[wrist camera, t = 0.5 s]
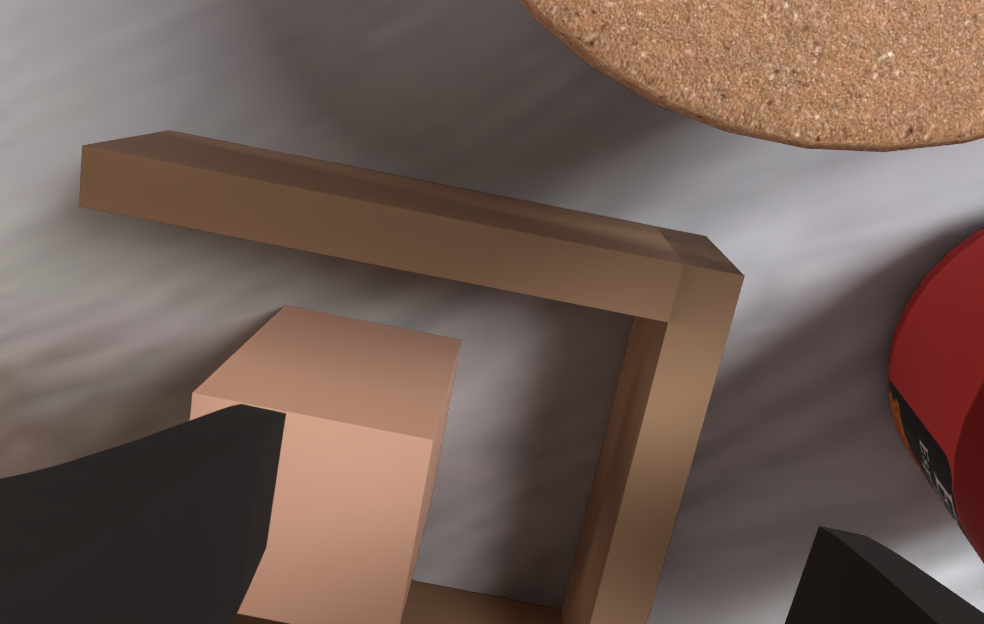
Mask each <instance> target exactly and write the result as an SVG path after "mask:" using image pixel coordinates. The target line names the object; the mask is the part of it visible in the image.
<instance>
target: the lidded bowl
mask: <svg viewBox="0 0 984 624" xmlns="http://www.w3.org/2000/svg"><path fill="white" fill-rule="evenodd" d="M519 1H520V2H521V4H522V5H523V6H524V7H525V8H526V9H527V11H528V12H529V13H530V14H531V15H532V16H533V18H534V19H535V20H537V21H538V22H539V23H540V24H541V25H543V26H544V27H545V28H546V29H547V30H549V31H550V32H551V33H552V34H553V35H554V36H556V37H557V38H558V39H559V40H560V41H562V42H563V43H564V44H565V45H566V46H568V47H569V48H570V49H571V50H572V51H574V52H575V53H576V54H577V55H578V56H580V57H581V58H582V59H583V60H584V61H586V62H587V63H588V64H589V65H590V66H592V67H593V68H595V69H597V70H598V71H600V72H602V73H603V74H605V75H607V76H608V77H610V78H612V79H614V80H615V81H617V82H619V83H620V84H622V85H624V86H625V87H627V88H629V89H630V90H632V91H634V92H636V93H637V94H639V95H641V96H642V97H644V98H646V99H647V100H649V101H651V102H652V103H654V104H656V105H659V106H661V107H664V108H666V109H669V110H672V111H674V112H677V113H679V114H682V115H685V116H687V117H690V118H692V119H695V120H697V121H700V122H703V123H705V124H708V125H710V126H713V127H716V128H718V129H721V130H723V131H726V132H730V133H734V134H739V135H744V136H749V137H754V138H758V139H763V140H768V141H773V142H778V143H783V144H787V145H792V146H797V147H802V148H807V149H830V150H853V151H876V152H887V151H896V150H906V149H915V148H924V147H933V146H942V145H951V144H960V143H966V142H970V141H974V140H977V139H981V138H984V0H519Z"/></svg>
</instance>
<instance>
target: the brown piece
mask: <svg viewBox="0 0 984 624" xmlns="http://www.w3.org/2000/svg"><path fill="white" fill-rule="evenodd" d="M79 206H80V207H85V208H90V209H95V210H100V211H105V212H110V213H115V214H120V215H125V216H130V217H135V218H141V219H146V220H151V221H156V222H161V223H166V224H171V225H176V226H181V227H186V228H191V229H196V230H201V231H207V232H212V233H217V234H222V235H227V236H232V237H237V238H242V239H247V240H252V241H257V242H262V243H268V244H273V245H278V246H283V247H288V248H293V249H298V250H303V251H308V252H313V253H318V254H323V255H329V256H334V257H339V258H344V259H349V260H354V261H359V262H364V263H369V264H374V265H379V266H384V267H390V268H395V269H400V270H405V271H410V272H415V273H420V274H425V275H430V276H435V277H440V278H445V279H450V280H456V281H461V282H466V283H471V284H476V285H481V286H486V287H491V288H496V289H501V290H506V291H511V292H517V293H522V294H527V295H532V296H537V297H542V298H547V299H552V300H557V301H562V302H567V303H572V304H578V305H583V306H588V307H593V308H598V309H603V310H608V311H613V312H618V313H623V314H628V315H633V316H634V319H633V323H632V327H631V331H630V335H629V339H628V343H627V347H626V351H625V355H624V359H623V363H622V367H621V371H620V376H619V380H618V384H617V388H616V392H615V396H614V400H613V404H612V408H611V412H610V416H609V420H608V424H607V428H606V432H605V436H604V440H603V444H602V448H601V452H600V456H599V461H598V465H597V469H596V473H595V477H594V481H593V485H592V489H591V493H590V497H589V501H588V505H587V509H586V513H585V517H584V521H583V525H582V529H581V533H580V537H579V541H578V546H577V550H576V554H575V558H574V562H573V566H572V570H571V574H570V578H569V582H568V586H567V590H566V594H565V598H564V602H563V606H562V610H559V609H554V608H549V607H544V606H539V605H534V604H529V603H524V602H519V601H514V600H508V599H503V598H498V597H493V596H488V595H483V594H478V593H473V592H468V591H463V590H458V589H452V588H447V587H442V586H437V585H432V584H427V583H422V582H417V581H412V580H411V584H410V588H409V592H408V596H407V600H406V604H405V608H404V612H403V616H402V620H401V624H647V620H648V617H649V613H650V610H651V606H652V603H653V599H654V596H655V592H656V589H657V585H658V581H659V578H660V574H661V571H662V567H663V564H664V560H665V557H666V553H667V549H668V546H669V542H670V539H671V535H672V532H673V528H674V525H675V521H676V518H677V514H678V510H679V507H680V503H681V500H682V496H683V493H684V489H685V486H686V482H687V479H688V475H689V471H690V468H691V464H692V461H693V457H694V454H695V450H696V447H697V443H698V439H699V436H700V432H701V429H702V425H703V422H704V418H705V415H706V411H707V408H708V404H709V400H710V397H711V393H712V390H713V386H714V383H715V379H716V376H717V372H718V368H719V365H720V361H721V358H722V354H723V351H724V347H725V344H726V340H727V337H728V333H729V329H730V326H731V322H732V319H733V315H734V312H735V308H736V305H737V301H738V298H739V294H740V290H741V287H742V283H743V280H744V275H743V274H742V273H741V272H740V271H739V270H738V269H737V268H736V267H735V266H734V265H733V264H732V263H731V262H730V260H729V259H728V258H727V257H726V256H725V255H724V254H723V253H722V252H721V251H720V250H719V249H718V248H717V247H716V246H715V245H714V244H713V243H712V242H711V241H710V240H709V239H708V238H707V237H706V236H702V235H697V234H692V233H687V232H682V231H677V230H672V229H667V228H661V227H656V226H651V225H646V224H641V223H636V222H631V221H626V220H621V219H616V218H611V217H606V216H600V215H595V214H590V213H585V212H580V211H575V210H570V209H565V208H560V207H555V206H550V205H545V204H540V203H534V202H529V201H524V200H519V199H514V198H509V197H504V196H499V195H494V194H489V193H484V192H479V191H473V190H468V189H463V188H458V187H453V186H448V185H443V184H438V183H433V182H428V181H423V180H418V179H413V178H407V177H402V176H397V175H392V174H387V173H382V172H377V171H372V170H367V169H362V168H357V167H352V166H347V165H341V164H336V163H331V162H326V161H321V160H316V159H311V158H306V157H301V156H296V155H291V154H286V153H280V152H275V151H270V150H265V149H260V148H255V147H250V146H245V145H240V144H235V143H230V142H225V141H220V140H214V139H209V138H204V137H199V136H194V135H189V134H184V133H179V132H174V131H163V132H157V133H152V134H146V135H140V136H134V137H129V138H123V139H117V140H112V141H106V142H100V143H94V144H89V145H83V146H82V161H81V181H80V201H79ZM231 624H289V623H284V622H279V621H274V620H269V619H264V618H259V617H254V616H248V615H243V614H238V613H237V614H236V615H235V617H234V619H233V620H232V622H231Z"/></svg>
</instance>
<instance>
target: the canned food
mask: <svg viewBox="0 0 984 624" xmlns="http://www.w3.org/2000/svg"><path fill="white" fill-rule="evenodd" d="M889 402H890V407H891V411H892V415H893V419H894V423H895V427H896V429H897V431H898V433H899V435H900V437H901V439H902V441H903V443H904V445H905V447H906V449H907V450H908V452H909V454H910V455H911V457H912V458H913V460H914V461H915V463H916V464H917V466H918V467H919V468H920V470H921V471H922V473H923V474H924V476H925V477H926V479H927V480H928V482H929V483H930V485H931V486H932V488H933V489H934V491H935V492H936V494H937V495H938V497H939V498H940V499H941V501H942V502H943V504H944V505H945V507H946V508H947V510H948V511H949V513H950V514H951V516H952V517H953V519H954V520H955V522H956V523H957V525H958V526H959V527H960V529H961V530H962V532H963V533H964V535H965V536H966V538H967V539H968V541H969V542H970V544H971V545H972V547H973V548H974V550H975V551H976V553H977V554H978V556H979V557H980V558H981V560H982V561H983V563H984V227H983V228H982V229H980V230H978V231H976V232H975V233H974V234H972V235H971V236H970V237H968V238H967V239H966V240H964V241H963V242H961V243H960V244H959V245H957V246H956V247H955V248H953V249H952V250H951V251H949V252H948V253H947V254H946V255H945V256H944V257H943V258H942V259H941V260H940V261H939V262H938V263H937V265H936V266H935V267H934V268H933V269H932V270H931V271H930V272H929V273H928V274H927V275H926V276H925V277H924V279H923V280H922V282H921V283H920V284H919V286H918V287H917V289H916V290H915V292H914V293H913V294H912V296H911V297H910V299H909V300H908V302H907V304H906V306H905V308H904V310H903V313H902V315H901V317H900V319H899V321H898V324H897V326H896V328H895V331H894V335H893V340H892V344H891V349H890V353H889Z"/></svg>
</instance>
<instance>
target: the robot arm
mask: <svg viewBox="0 0 984 624" xmlns="http://www.w3.org/2000/svg"><path fill="white" fill-rule="evenodd" d="M285 418H286V413H282V412H278V411H273V410H268V409H264V408H259V407H254V406H249V405H245V404H238V405H233V406H230V407H226V408H223V409H220V410H217V411H215V412H212V413H209V414H206V415H204V416H201V417H198V418H196V419H193V420H190V421H188V422H185V423H182V424H180V425H177V426H174V427H172V428H169V429H166V430H163V431H161V432H158V433H155V434H153V435H150V436H147V437H144V438H142V439H139V440H136V441H133V442H130V443H127V444H124V445H121V446H118V447H115V448H111V449H108V450H105V451H102V452H99V453H96V454H93V455H90V456H86V457H83V458H80V459H77V460H74V461H71V462H68V463H64V464H60V465H57V466H53V467H49V468H46V469H42V470H38V471H34V472H30V473H26V474H21V475H17V476H12V477H7V478H3V479H0V624H231V622H232V620H233V619H234V617H235V615H236V614H237V612H238V610H239V608H240V606H241V604H242V602H243V600H244V597H245V595H246V593H247V591H248V589H249V586H250V584H251V582H252V580H253V577H254V575H255V573H256V571H257V568H258V566H259V564H260V561H261V559H262V557H263V554H264V552H265V550H266V547H267V540H268V533H269V526H270V520H271V513H272V506H273V499H274V492H275V486H276V479H277V472H278V465H279V458H280V452H281V445H282V438H283V431H284V425H285ZM785 624H984V613H982V612H981V611H979V610H978V609H977V608H975V607H974V606H972V605H971V604H969V603H968V602H967V601H965V600H964V599H962V598H961V597H959V596H958V595H957V594H955V593H954V592H952V591H951V590H950V589H948V588H947V587H945V586H944V585H942V584H941V583H939V582H938V581H937V580H935V579H934V578H932V577H931V576H929V575H928V574H927V573H925V572H924V571H922V570H921V569H919V568H918V567H916V566H915V565H913V564H912V563H910V562H909V561H907V560H906V559H904V558H903V557H901V556H900V555H898V554H897V553H895V552H893V551H892V550H890V549H888V548H887V547H885V546H883V545H882V544H880V543H878V542H876V541H874V540H872V539H870V538H868V537H866V536H864V535H859V534H854V533H849V532H845V531H840V530H835V529H831V528H826V527H821V526H819V528H818V531H817V534H816V537H815V539H814V542H813V545H812V548H811V551H810V554H809V556H808V559H807V562H806V565H805V568H804V571H803V573H802V576H801V579H800V582H799V585H798V588H797V590H796V593H795V596H794V599H793V602H792V605H791V607H790V610H789V613H788V616H787V619H786V622H785Z"/></svg>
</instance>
